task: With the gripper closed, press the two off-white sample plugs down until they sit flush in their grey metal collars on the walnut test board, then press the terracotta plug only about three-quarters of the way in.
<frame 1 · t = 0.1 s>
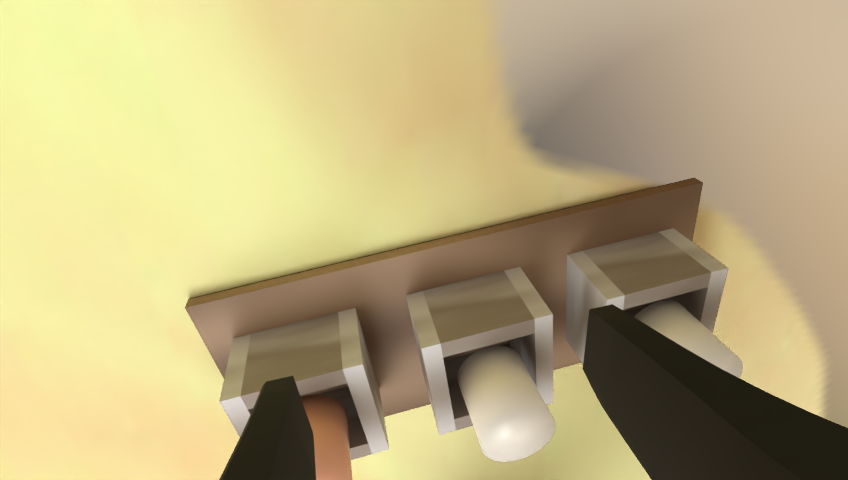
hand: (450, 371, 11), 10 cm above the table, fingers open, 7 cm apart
terracotta plug: (311, 454, 19), point 6 cm above the table, slide at 0.0 cm
test board: (466, 317, 24), on the table
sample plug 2: (503, 401, 19), point 6 cm above the table, slide at 0.0 cm
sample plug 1: (679, 352, 20), point 6 cm above the table, slide at 0.0 cm
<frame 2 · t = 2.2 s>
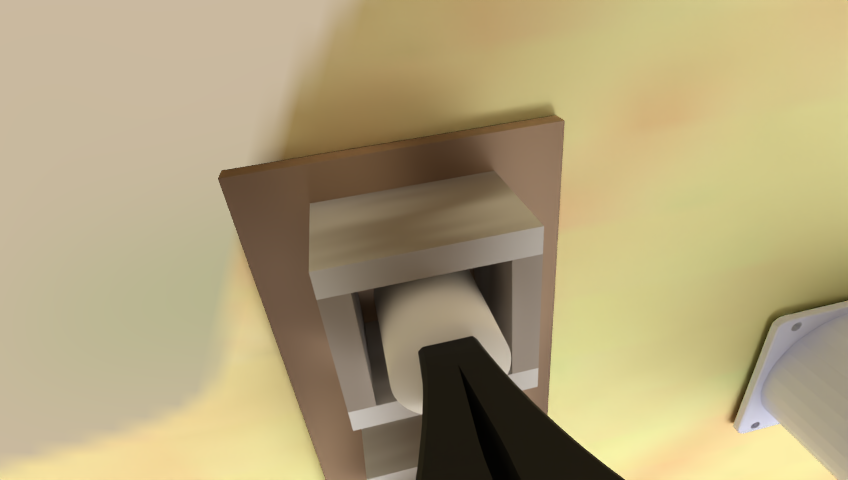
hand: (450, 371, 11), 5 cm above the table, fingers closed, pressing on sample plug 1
test board: (432, 410, 20), on the table
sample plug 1: (436, 326, 13), point 4 cm above the table, slide at 1.8 cm, touching gripper
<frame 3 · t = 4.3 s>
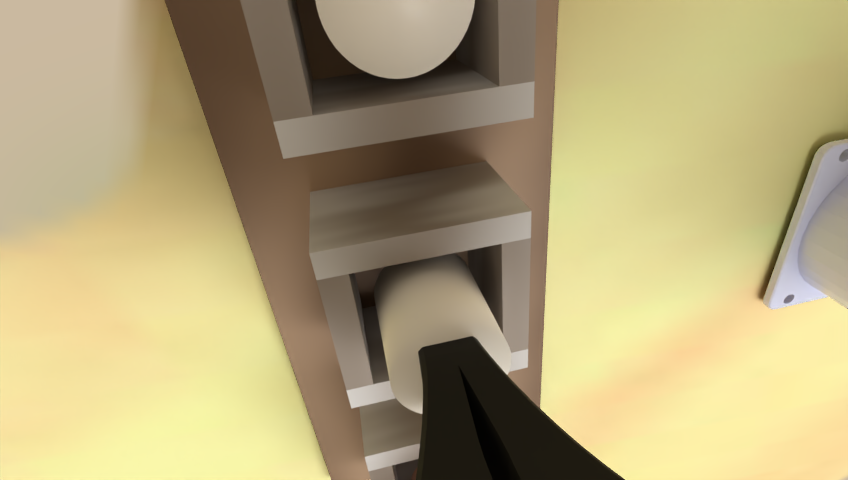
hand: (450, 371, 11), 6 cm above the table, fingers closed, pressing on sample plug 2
test board: (407, 242, 16), on the table
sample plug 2: (436, 326, 13), point 5 cm above the table, slide at 1.0 cm, touching gripper
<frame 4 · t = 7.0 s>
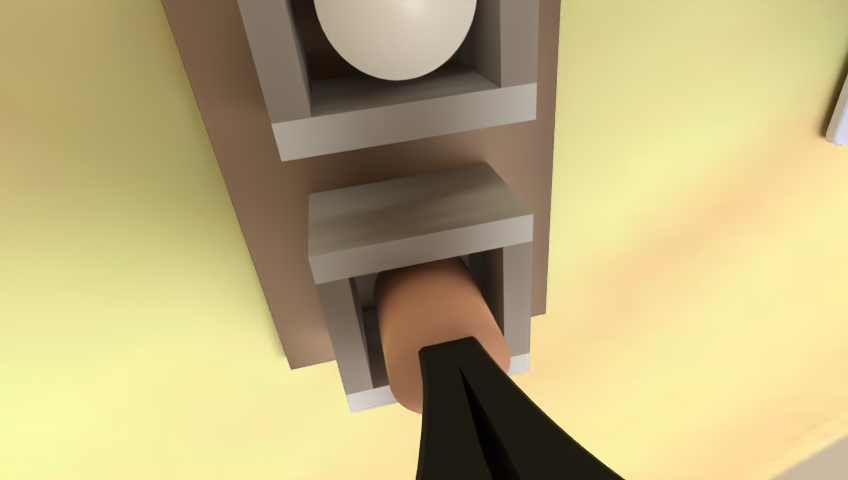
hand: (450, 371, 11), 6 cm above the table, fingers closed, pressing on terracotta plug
terracotta plug: (435, 325, 13), point 4 cm above the table, slide at 1.2 cm, touching gripper
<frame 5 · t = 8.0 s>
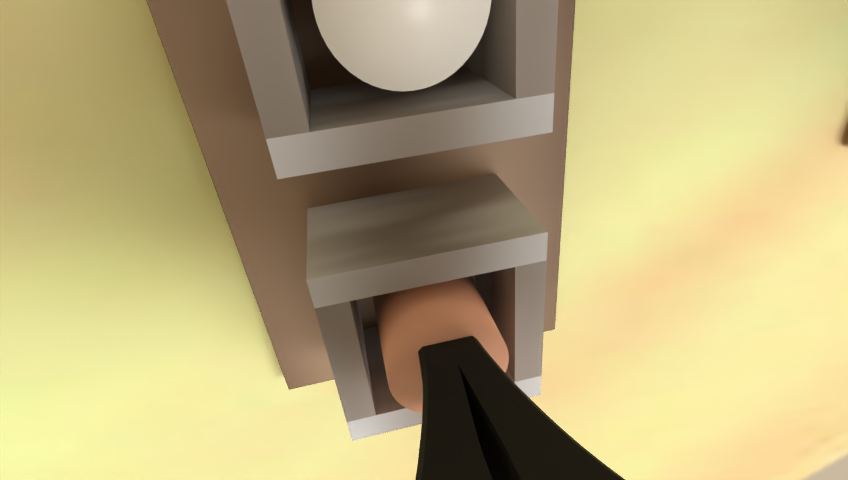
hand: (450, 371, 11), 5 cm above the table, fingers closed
terracotta plug: (433, 325, 13), point 3 cm above the table, slide at 2.1 cm
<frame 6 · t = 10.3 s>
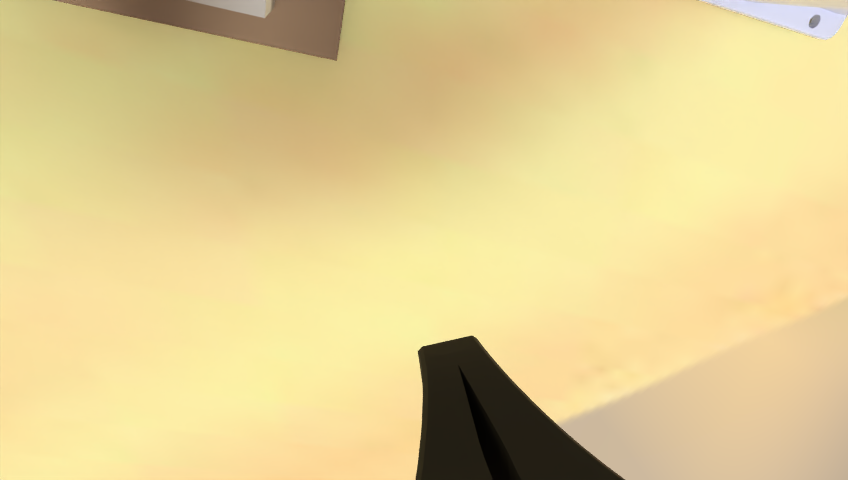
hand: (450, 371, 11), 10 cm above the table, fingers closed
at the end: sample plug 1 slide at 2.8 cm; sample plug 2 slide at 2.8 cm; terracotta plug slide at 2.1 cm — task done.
